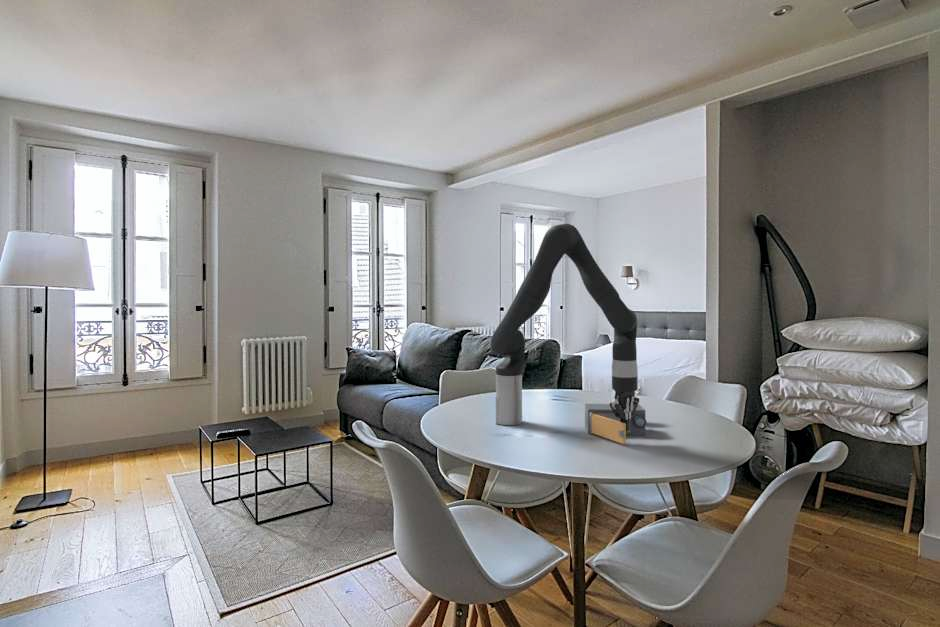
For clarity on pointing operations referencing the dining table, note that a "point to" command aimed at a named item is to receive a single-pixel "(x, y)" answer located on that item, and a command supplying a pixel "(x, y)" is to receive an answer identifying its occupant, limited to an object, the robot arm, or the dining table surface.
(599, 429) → the door
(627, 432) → the camera body
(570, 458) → the dining table surface
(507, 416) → the robot arm
